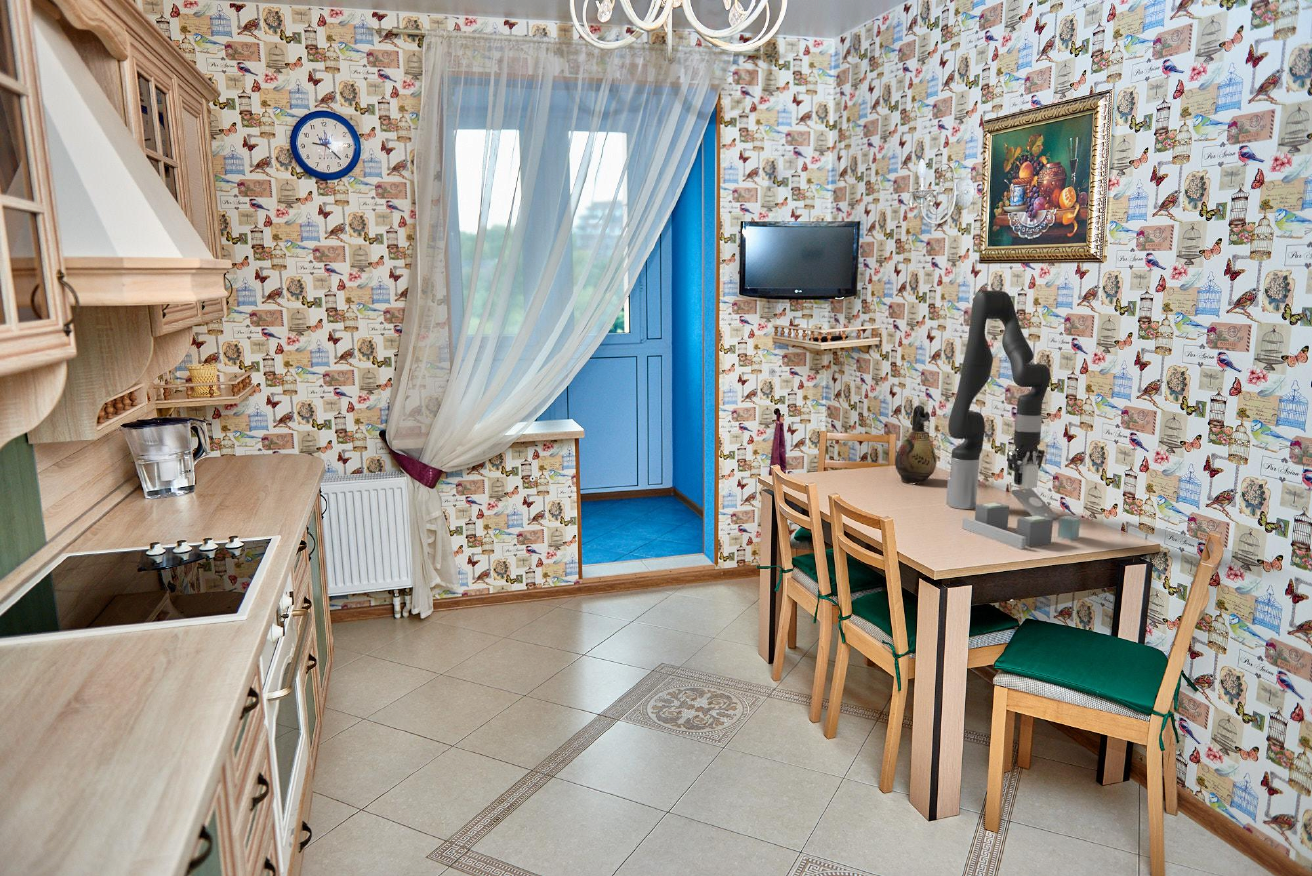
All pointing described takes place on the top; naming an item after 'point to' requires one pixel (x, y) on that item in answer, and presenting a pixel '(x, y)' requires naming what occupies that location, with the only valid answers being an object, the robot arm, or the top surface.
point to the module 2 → (1068, 527)
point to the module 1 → (1027, 476)
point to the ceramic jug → (916, 451)
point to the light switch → (1033, 503)
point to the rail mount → (996, 519)
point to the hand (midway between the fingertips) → (1023, 483)
